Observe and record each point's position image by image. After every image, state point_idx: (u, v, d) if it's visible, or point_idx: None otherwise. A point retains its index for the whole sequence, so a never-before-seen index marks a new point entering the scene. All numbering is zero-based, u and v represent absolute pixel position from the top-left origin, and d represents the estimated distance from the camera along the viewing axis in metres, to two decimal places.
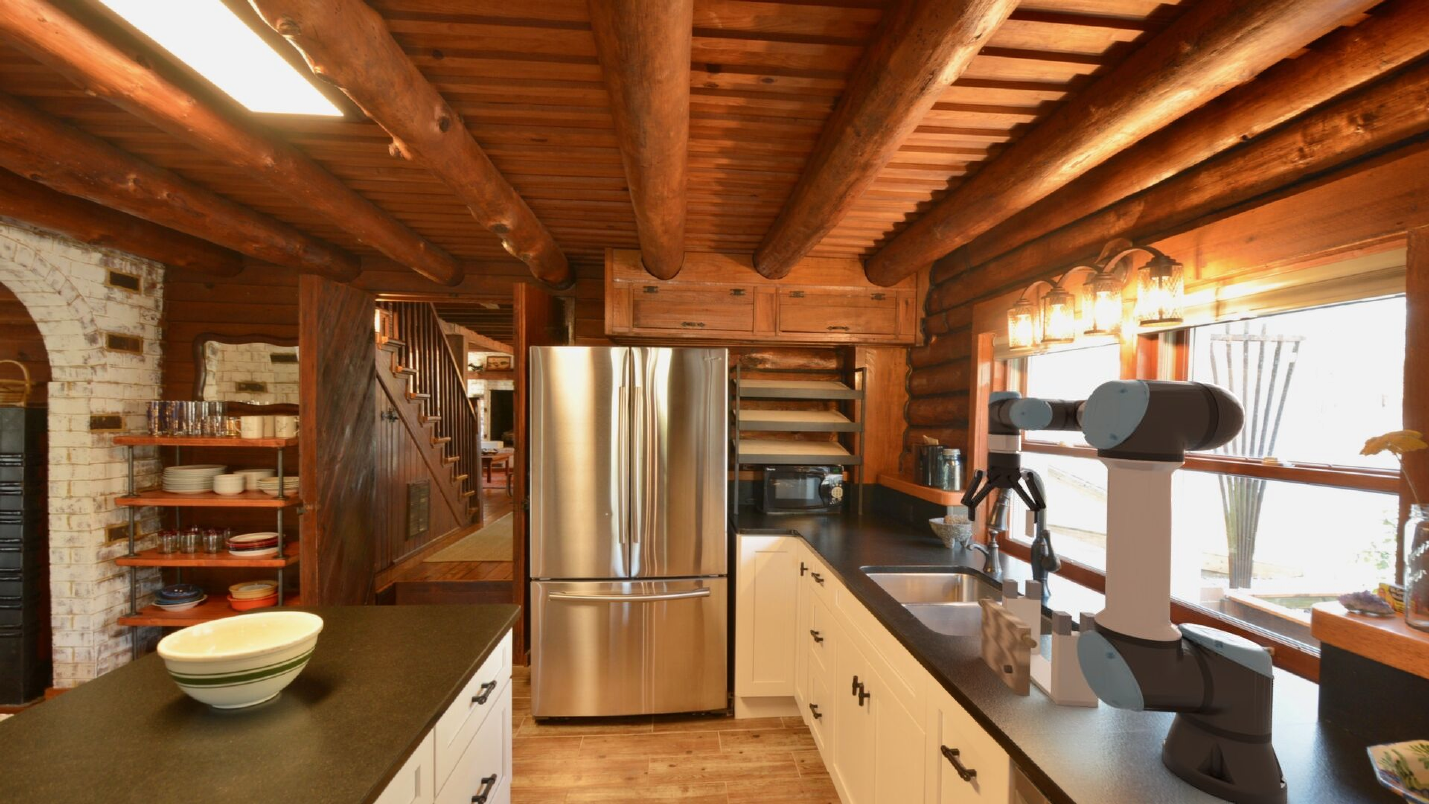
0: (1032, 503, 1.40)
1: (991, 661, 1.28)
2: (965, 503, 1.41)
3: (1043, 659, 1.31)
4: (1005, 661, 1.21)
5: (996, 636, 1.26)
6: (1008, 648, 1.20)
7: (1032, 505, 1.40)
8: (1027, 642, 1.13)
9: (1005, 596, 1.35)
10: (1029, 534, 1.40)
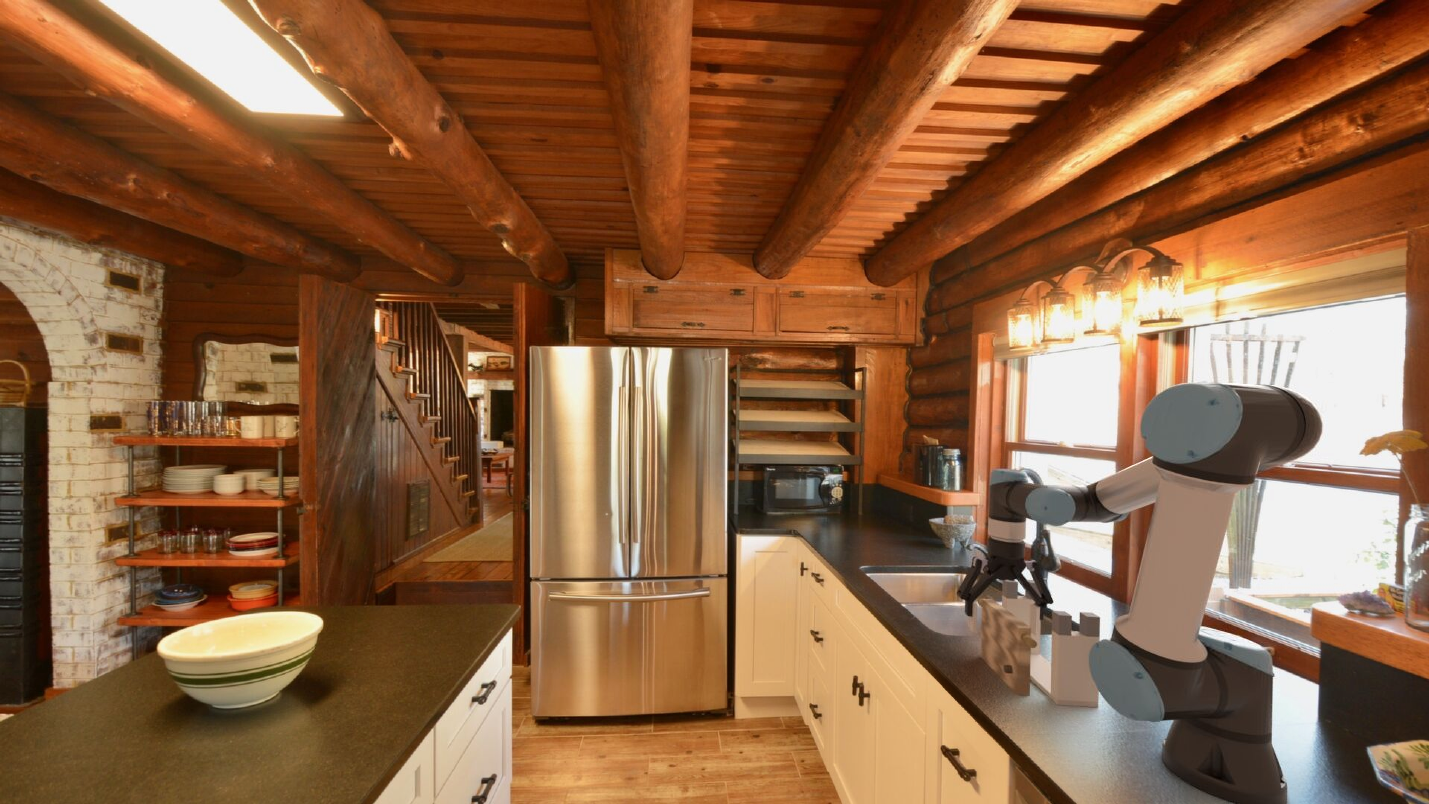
0: (1038, 597, 1.23)
1: (991, 661, 1.28)
2: (962, 597, 1.24)
3: (1043, 659, 1.31)
4: (1005, 661, 1.21)
5: (996, 636, 1.26)
6: (1008, 648, 1.20)
7: (1038, 600, 1.23)
8: (1027, 642, 1.13)
9: (1005, 596, 1.35)
10: (1034, 632, 1.24)
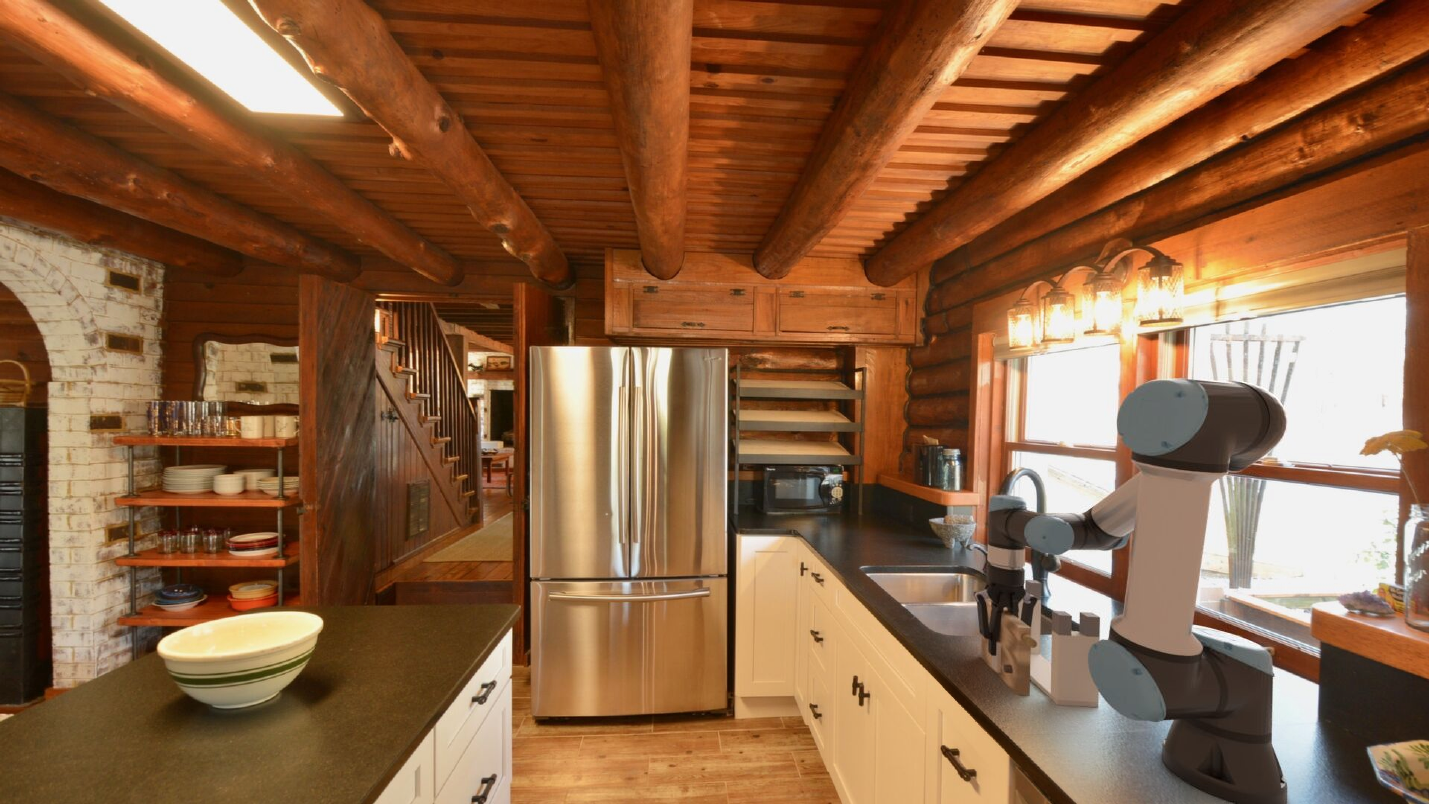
0: None
1: (991, 660, 1.28)
2: (985, 636, 1.24)
3: (1043, 659, 1.31)
4: (1005, 661, 1.21)
5: None
6: (1008, 648, 1.20)
7: None
8: (1027, 642, 1.13)
9: None
10: None
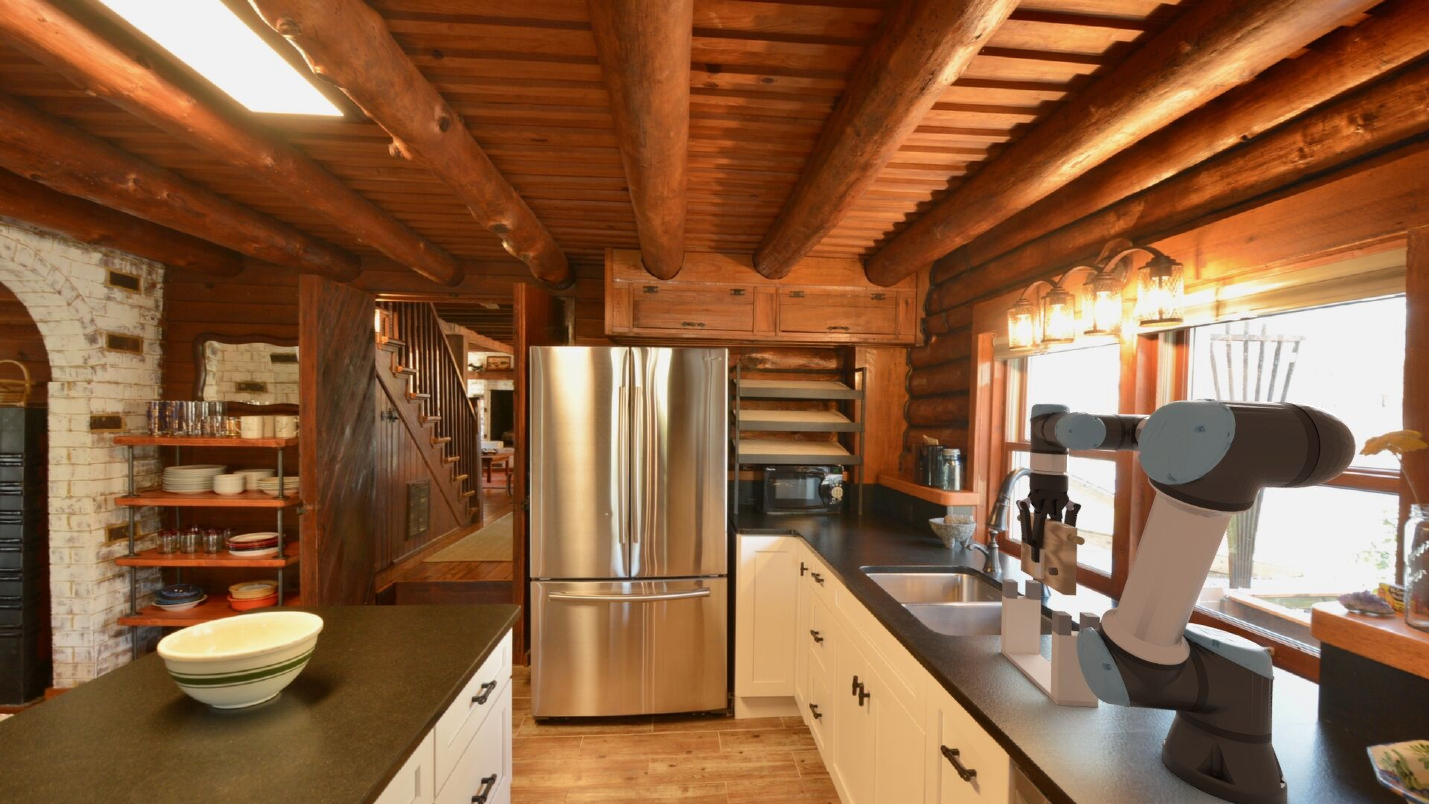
0: None
1: (1033, 570, 1.28)
2: (1029, 543, 1.23)
3: (1043, 659, 1.31)
4: (1049, 565, 1.21)
5: None
6: (1053, 552, 1.20)
7: None
8: (1074, 540, 1.13)
9: (1005, 596, 1.35)
10: None
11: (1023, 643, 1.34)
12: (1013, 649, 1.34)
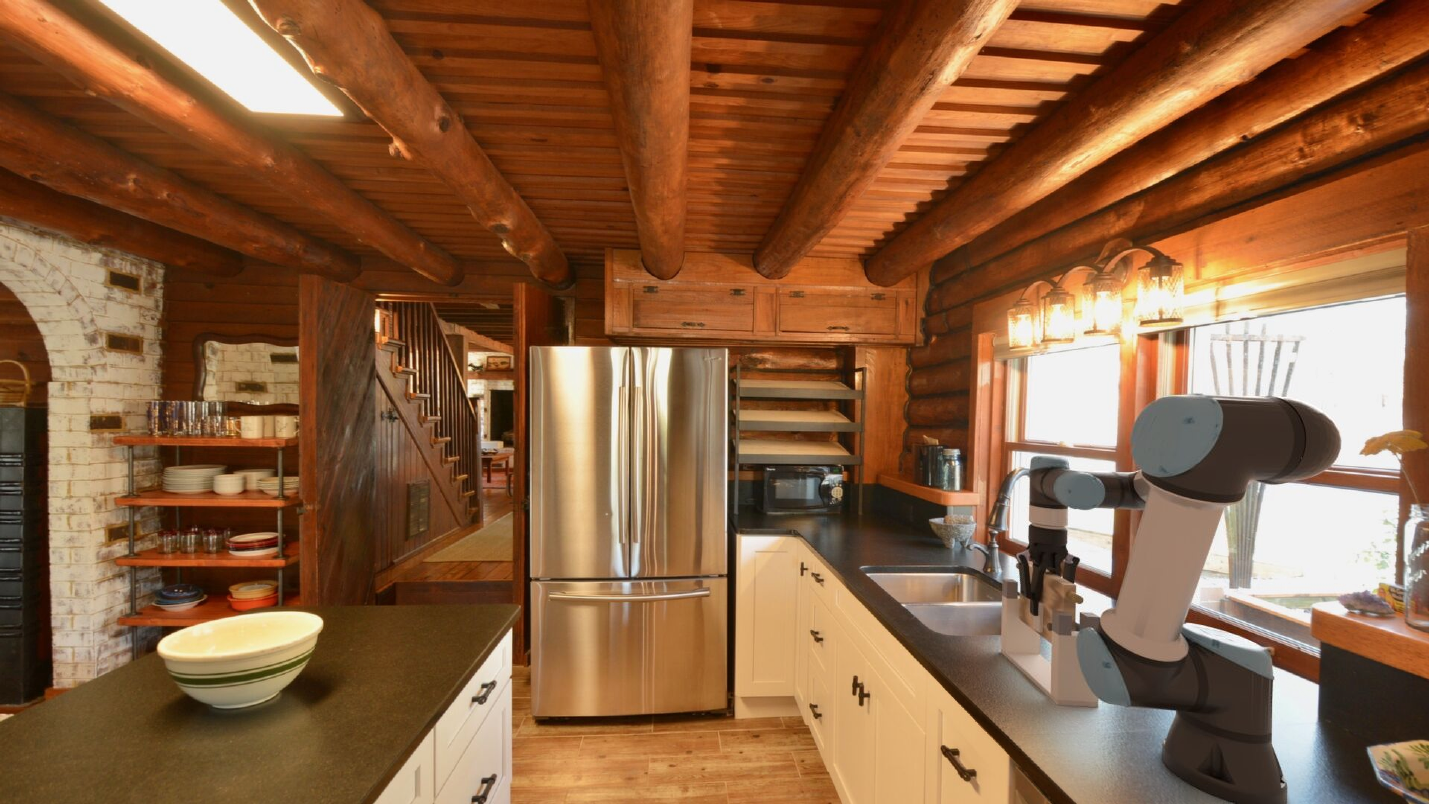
0: None
1: (1032, 621, 1.27)
2: (1028, 596, 1.23)
3: (1043, 659, 1.31)
4: (1048, 620, 1.21)
5: None
6: (1051, 607, 1.20)
7: None
8: (1073, 598, 1.13)
9: (1005, 596, 1.35)
10: None
11: (1023, 643, 1.34)
12: (1013, 649, 1.34)
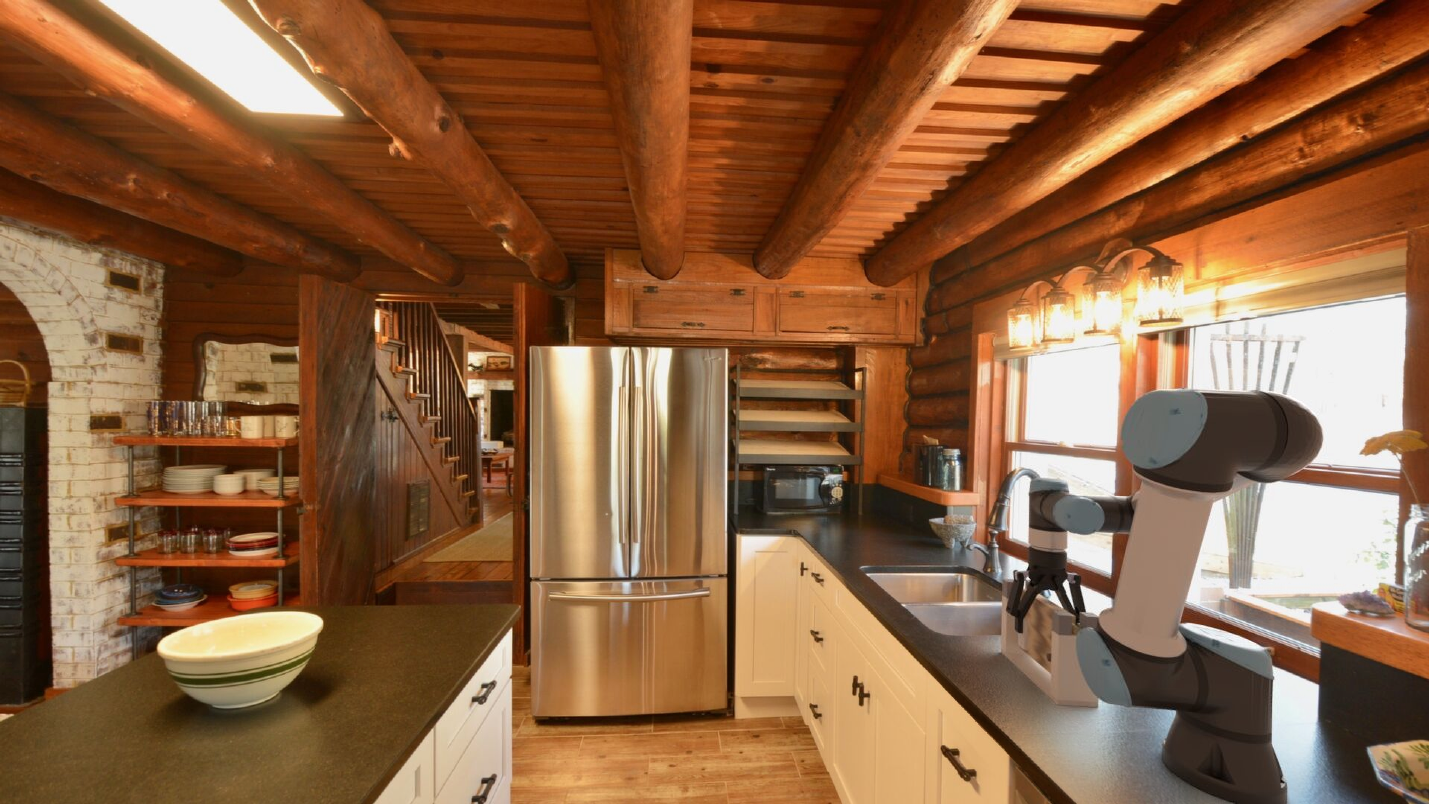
0: (1073, 612, 1.23)
1: (1031, 650, 1.27)
2: (1012, 613, 1.23)
3: None
4: (1048, 650, 1.21)
5: (1037, 625, 1.25)
6: (1051, 637, 1.20)
7: None
8: (1072, 630, 1.13)
9: (1005, 596, 1.35)
10: None
11: None
12: (1013, 649, 1.34)
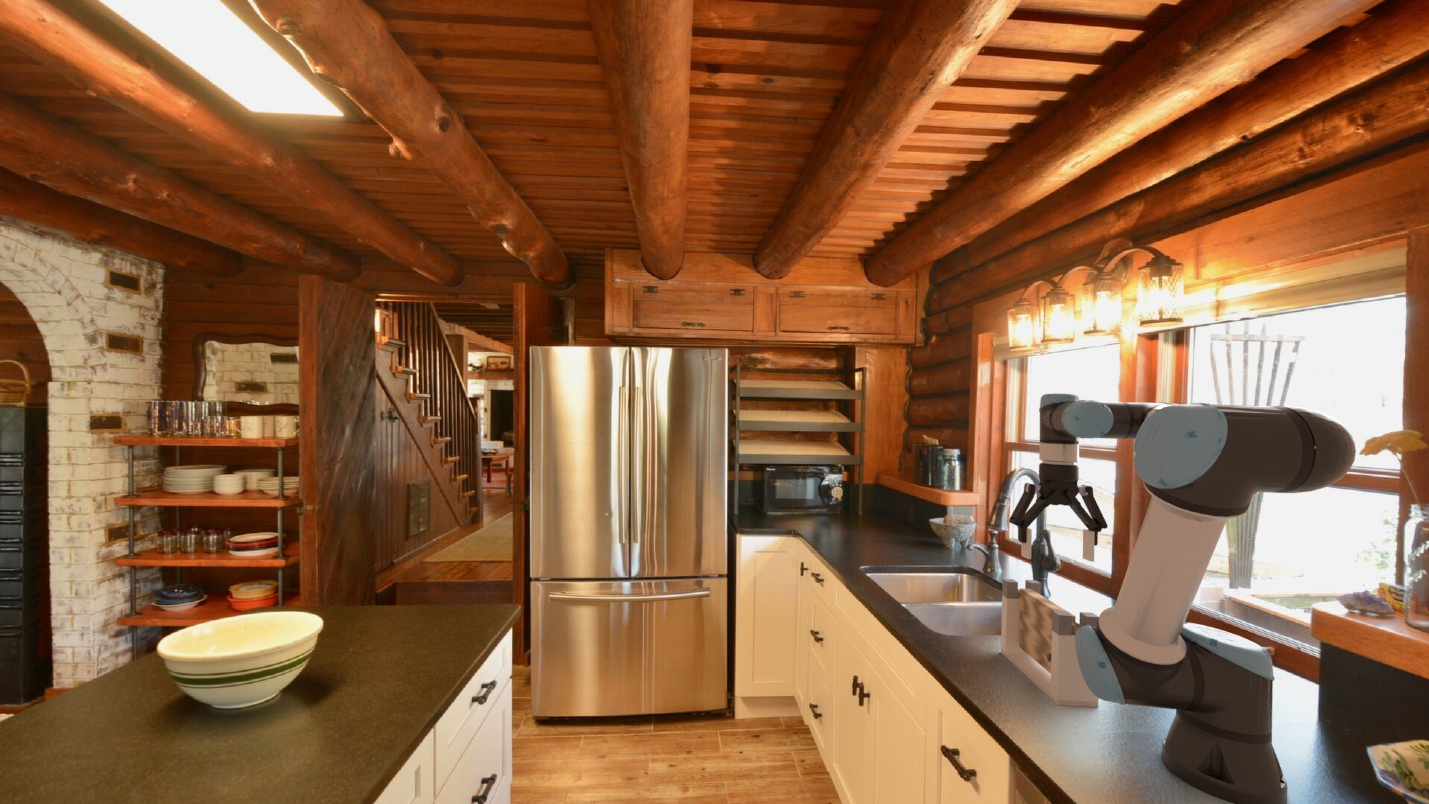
0: (1092, 522, 1.22)
1: (1032, 650, 1.27)
2: (1016, 522, 1.22)
3: None
4: (1048, 650, 1.21)
5: (1037, 625, 1.25)
6: (1051, 637, 1.20)
7: (1092, 524, 1.22)
8: (1072, 630, 1.13)
9: (1005, 596, 1.35)
10: (1088, 558, 1.22)
11: None
12: (1013, 649, 1.34)
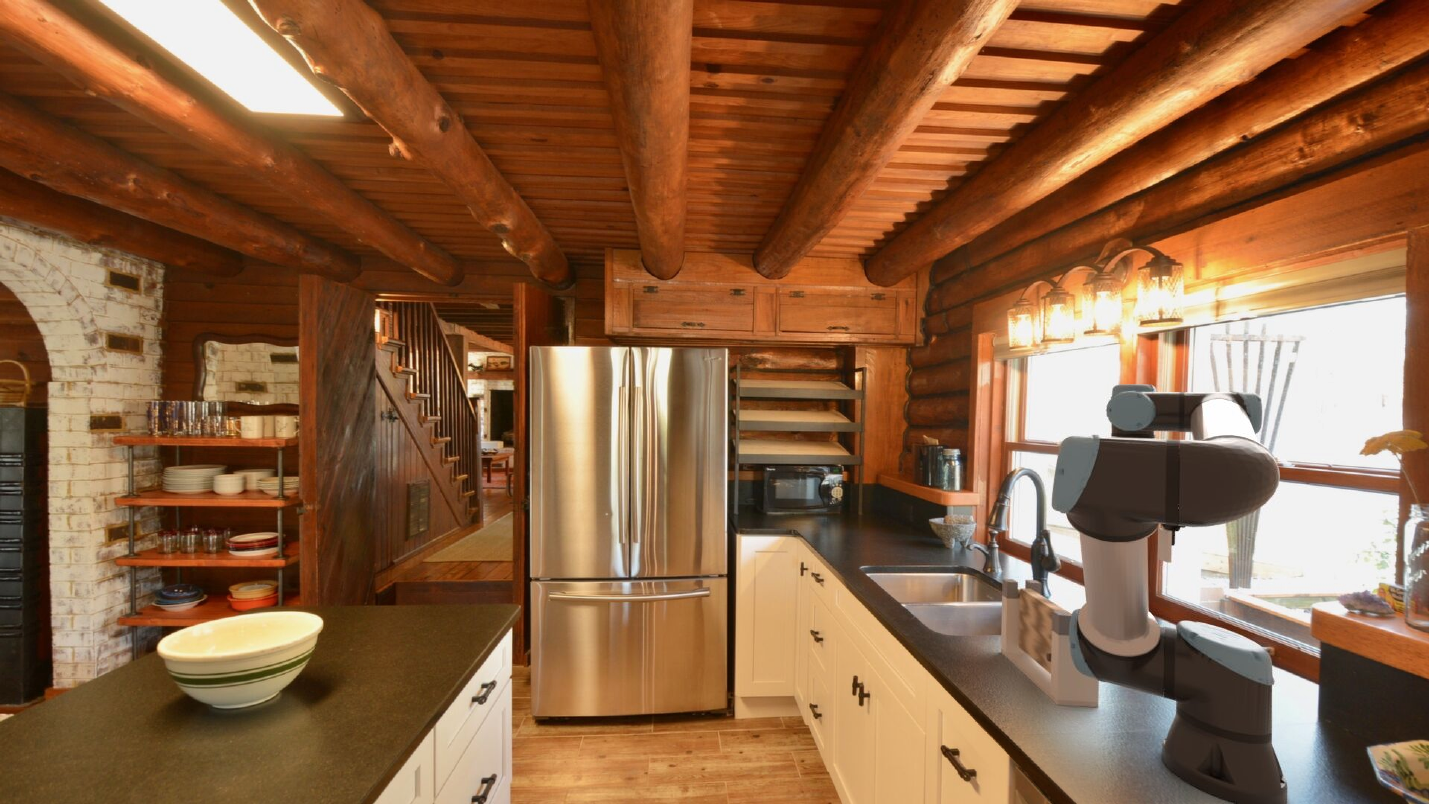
0: None
1: (1031, 650, 1.27)
2: None
3: None
4: (1048, 650, 1.21)
5: (1037, 625, 1.25)
6: (1051, 637, 1.20)
7: None
8: None
9: (1005, 596, 1.35)
10: (1165, 558, 1.15)
11: None
12: (1013, 649, 1.34)
